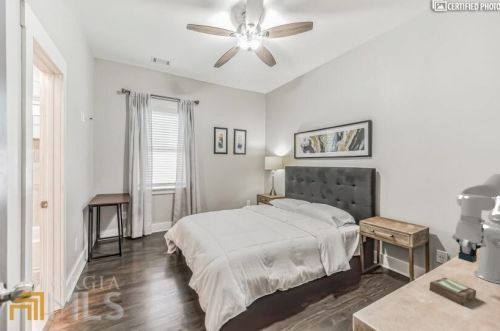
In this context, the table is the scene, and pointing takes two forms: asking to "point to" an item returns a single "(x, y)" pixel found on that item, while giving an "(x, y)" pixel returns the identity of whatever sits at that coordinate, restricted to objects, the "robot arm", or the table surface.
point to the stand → (453, 290)
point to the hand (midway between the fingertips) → (467, 254)
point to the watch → (467, 252)
